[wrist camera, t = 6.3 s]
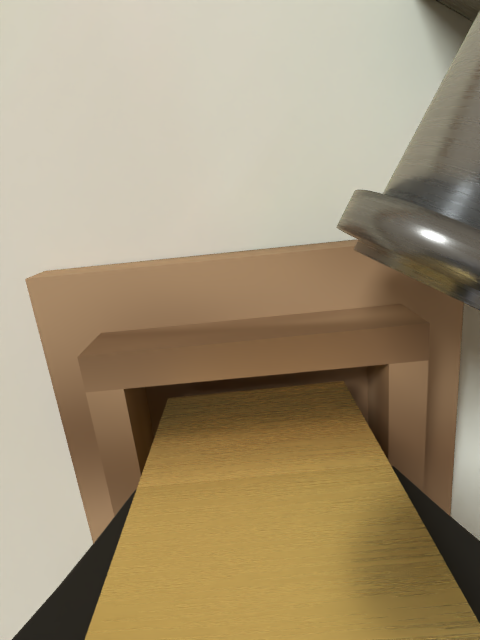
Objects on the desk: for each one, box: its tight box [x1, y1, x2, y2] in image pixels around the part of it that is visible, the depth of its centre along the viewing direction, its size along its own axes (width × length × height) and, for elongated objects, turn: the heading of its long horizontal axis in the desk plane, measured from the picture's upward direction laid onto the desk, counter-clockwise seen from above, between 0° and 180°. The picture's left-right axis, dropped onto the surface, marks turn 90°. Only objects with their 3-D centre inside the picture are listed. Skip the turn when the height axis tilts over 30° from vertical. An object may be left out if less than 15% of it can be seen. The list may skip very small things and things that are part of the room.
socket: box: [25, 239, 464, 544], centre depth 11 cm, size 10×10×2 cm
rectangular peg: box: [85, 381, 480, 640], centre depth 7 cm, size 4×4×6 cm
